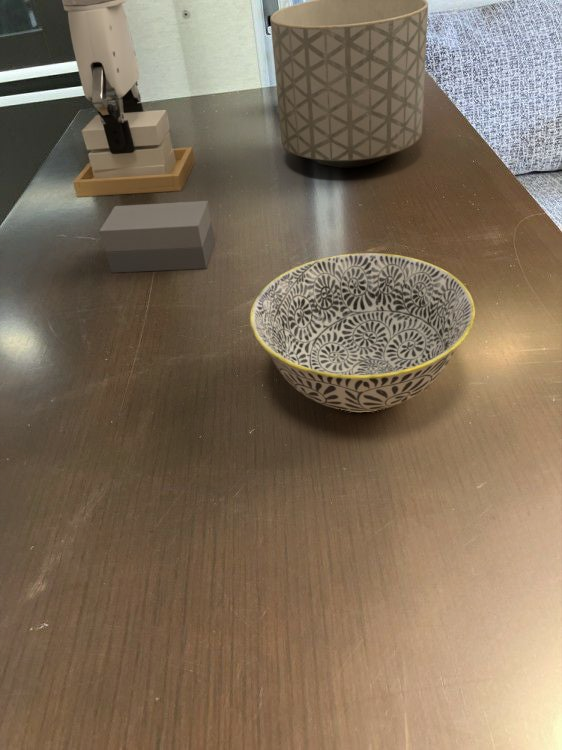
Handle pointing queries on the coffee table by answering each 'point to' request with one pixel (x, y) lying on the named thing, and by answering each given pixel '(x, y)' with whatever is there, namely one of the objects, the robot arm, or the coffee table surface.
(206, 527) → the coffee table surface
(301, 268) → the bowl
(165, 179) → the shallow wooden box
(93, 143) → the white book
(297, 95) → the planter
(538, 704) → the coffee table surface
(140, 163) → the taupe rectangular block
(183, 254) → the grey rectangular block
